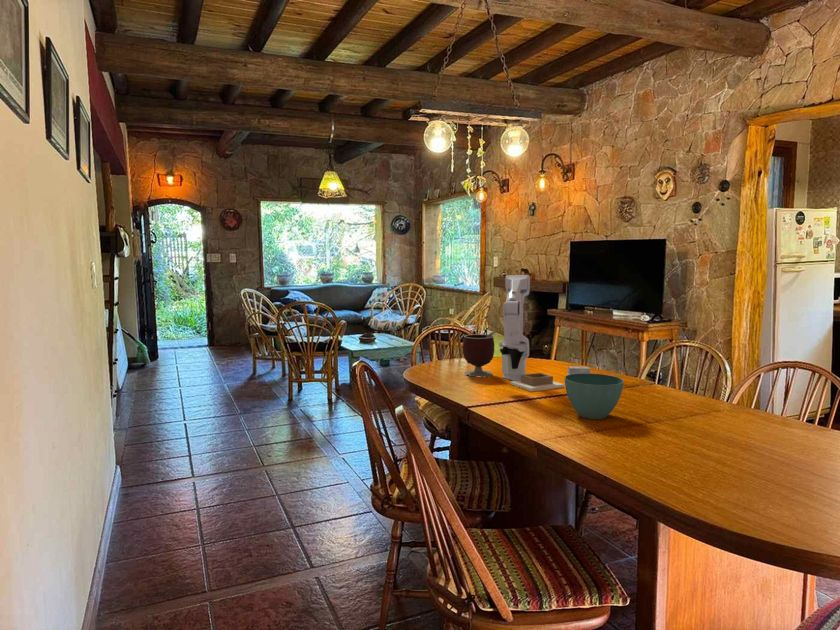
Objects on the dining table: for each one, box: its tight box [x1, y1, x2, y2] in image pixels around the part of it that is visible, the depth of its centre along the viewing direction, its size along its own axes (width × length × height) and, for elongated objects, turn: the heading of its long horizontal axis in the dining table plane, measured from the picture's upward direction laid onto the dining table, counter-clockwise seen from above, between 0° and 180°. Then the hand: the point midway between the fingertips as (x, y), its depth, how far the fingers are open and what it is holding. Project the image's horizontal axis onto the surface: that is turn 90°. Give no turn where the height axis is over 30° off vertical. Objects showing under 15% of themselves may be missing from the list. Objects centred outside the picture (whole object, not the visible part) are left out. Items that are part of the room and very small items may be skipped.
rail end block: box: [501, 354, 521, 375], centre depth 218 cm, size 4×6×7 cm, turn 116°
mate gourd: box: [462, 330, 499, 378], centre depth 252 cm, size 16×14×20 cm
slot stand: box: [509, 372, 565, 392], centre depth 229 cm, size 14×16×4 cm
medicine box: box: [567, 366, 591, 375], centre depth 223 cm, size 8×4×9 cm, turn 84°
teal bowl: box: [564, 372, 625, 420], centre depth 184 cm, size 18×18×12 cm
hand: (511, 367), depth 218 cm, fingers closed on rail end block, 4 cm apart
